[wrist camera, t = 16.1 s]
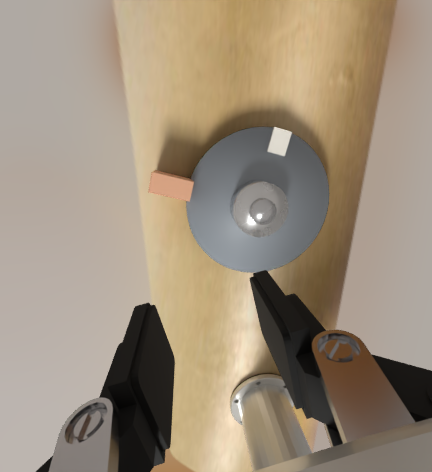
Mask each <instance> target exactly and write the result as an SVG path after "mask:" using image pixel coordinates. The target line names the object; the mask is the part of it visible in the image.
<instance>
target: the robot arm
mask: <svg viewBox="0 0 432 472" xmlns="http://www.w3.org/2000/svg"><path fill="white" fill-rule="evenodd" d="M253 276H254V277H251V278H250V283H251V287H252V291H253V296H254V300H255V305H256V309H257V313H258V318H259V322H260V327H261V330H262V334H263V336H264V339H265V341H266V343H267V345H268V348H269V350H270V352H271V354H272V357H273V359H274V361H275V363H276V365H277V368H278V370H279V372H280V374H281V376H278V375H274V374H262V375H257V376H254V377H252V378H249V379H247V380H246V381H244V382H243V383H242V384H240V385H239V386H238V387H237V389H236V390H235V391H234V393H233V395H232V397H231V400H230V407H231V413H232V416H233V417H234V419H235V420H236V421H237V422H238V423H239V424H241V425H243V429H244V434H245V438H246V443H247V447H248V452H249V457H250V461H251V466H252V470H253V472H432V371H430V370H426V369H423V368H419V367H415V366H412V365H408V364H405V363H401V362H397V361H393V360H390V359H386V358H382V357H379V356H375V355H371V353H370V352H369V350H368V349H367V348H366V346H365V344H364V343H363V342H362V341H361V340H360V338H358V337H357V336H355V335H354V334H352V333H349V332H346V331H342V330H327V331H326V330H325V329H324V328H323V326H322V325H321V324H320V323H319V322H318V320H317V319H316V318H315V317H314V316H313V314H312V313H311V312H310V311H309V310H308V308H307V307H306V306H305V305H304V304H303V302H302V301H301V300H300V299H299V298H298V296H297V295H296V294H290V295H287V296H285V294H284V293H283V292H282V290H281V289H280V288H279V286H278V285H277V284H276V282H275V281H274V280H273V278H272V277H271V276H270V274H269V273H268V272H267V270H263V271H260V272H256V273H253ZM174 367H175V360H174V355H173V352H172V349H171V347H170V344H169V341H168V339H167V336H166V333H165V331H164V328H163V325H162V323H161V320H160V317H159V314H158V312H157V309H156V307H155V305H150V304H149V303H146V304H142V305H139V306H136V307H135V308H134V311H133V314H132V316H131V320H130V322H129V325H128V328H127V331H126V334H125V337H124V340H123V342H122V343H120V344H119V346H118V348H117V350H116V353H115V356H114V359H113V361H112V364H111V367H110V370H109V372H108V375H107V378H106V381H105V383H104V386H103V389H102V392H101V395H100V397H99V398H96V399H93V400H90V401H88V402H87V403H85V404H83V405H82V406H80V407H79V408H78V409H77V410H75V411H74V412H73V414H72V415H71V416H70V417H69V418H68V419H67V421H66V422H65V424H64V425H63V427H62V429H61V431H60V434H59V437H58V440H57V444H56V447H55V451H54V455H53V456H52V457H51V458H50V459H49V460H48V461H47V462H46V463H45V464H44V465H42V466H41V467H40V468H39V469H38V470H37V471H36V472H150V471H151V470H152V468H153V467H154V466H156V465H159V464H162V463H164V461H165V449H169V448H170V444H171V425H172V406H173V386H174ZM294 405H295V407H296V409H299V408H302V409H303V412H304V414H305V416H306V418H307V419H308V418H311V417H312V418H314V419H316V420H318V421H320V422H322V423H324V425H325V430H326V433H327V436H328V439H329V442H330V445H331V448H328V449H325V450H321V451H318V452H315V453H312V452H311V449H310V447H309V445H308V442H307V440H306V438H305V436H304V433H303V431H302V429H301V426H300V424H299V422H298V419H297V417H296V415H295V413H294V410H293V406H294Z"/></svg>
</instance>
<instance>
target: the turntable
mask: <svg viewBox="0 0 432 472" xmlns="http://www.w3.org/2000/svg"><path fill="white" fill-rule="evenodd" d="M254 180H260V181H264V182H268V183H271V184H274V185H276V186H277V187H279V188H280V189H281V190H282V191H283V192H284V194H285V195H286V198H287V200H288V215H287V218H286V220H285V222H284V224H283V225H282V226H281V228H280V229H279V230H278V231H276V232H275V233H273V234H271V235H269V236H266V237H253V236H250V235H248V234H246V233H244V232H243V231H242V230H241V229H240V228H239V227H238V225H237V224H236V223H235V221H234V220H233V218H232V216H231V212H230V203H231V199H232V196H233V194H234V193H235V191H236V190H237V189H238V188H239V187H240V186H241V185H243V184H244V183H246V182H249V181H254ZM148 192H149V193H154V194H158V195H163V196H167V197H171V198H176V199H180V200H185V201H186V207H187V217H188V221H189V225H190V229H191V231H192V233H193V236H194V238H195V239H196V241H197V243H198V244H199V246H200V247H201V248H202V249H203V251H204V252H205V253H206V254H207V255H208V256H209V257H211V258H212V259H213V260H215V261H216V262H217V263H219V264H221V265H223V266H225V267H227V268H230V269H233V270H237V271H241V272H260V271H263V270H267V271H269V270H273V269H276V268H279V267H281V266H283V265H285V264H287V263H289V262H291V261H292V260H294V259H295V258H297V257H298V256H299V255H301V254H302V253H303V252H304V251H305V250H306V249H307V248H308V247H309V246H310V245H311V243H312V242H313V241H314V239H315V238H316V237H317V235H318V233H319V231H320V230H321V227H322V225H323V223H324V220H325V217H326V214H327V209H328V204H329V185H328V180H327V175H326V172H325V169H324V166H323V164H322V163H321V161H320V159H319V157H318V156H317V154H316V153H315V151H314V150H313V149H312V148H311V147H310V146H309V145H308V144H307V143H306V142H305V141H303V140H302V139H301V138H299V137H298V136H296V135H294V134H292V132H290V131H287V130H284V129H281V128H277V127H274V128H273V127H253V128H248V129H244V130H241V131H238V132H235V133H233V134H231V135H229V136H227V137H225V138H223V139H221V140H220V141H219V142H217V143H216V144H215V145H213V146H212V147H211V148H210V149H209V150H208V151H207V152H206V153H205V154H204V156H203V157H202V158H201V159H200V161H199V162H198V164H197V166H196V167H195V169H194V171H193V174H192V176H191V178H186V177H181V176H177V175H173V174H169V173H165V172H161V171H157V170H155V171H153V172H152V173H151V179H150V185H149V191H148Z"/></svg>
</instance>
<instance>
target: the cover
mask: <svg viewBox="0 0 432 472" xmlns="http://www.w3.org/2000/svg"><path fill="white" fill-rule="evenodd" d="M230 212H231V216H232V218H233V220H234V221H235V223H236V224H237V225H238V227H239V228H240V229H241V230H242V231H243V232H244V233H246V234H248V235H250V236H253V237H266V236H269V235H271V234H273V233H275V232H276V231H278V230H279V229H280V228H281V226H282V225H283V224H284V222H285V220H286V218H287V215H288V200H287V198H286V195H285V194H284V192H283V191H282V190H281V189H280V188H279V187H277V186H276V185H274V184H271V183H268V182H264V181H260V180H254V181H249V182H246V183H244V184H243V185H241V186H240V187H239V188H238V189H237V190H236V191H235V193H234V194H233V196H232V199H231V203H230Z"/></svg>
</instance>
